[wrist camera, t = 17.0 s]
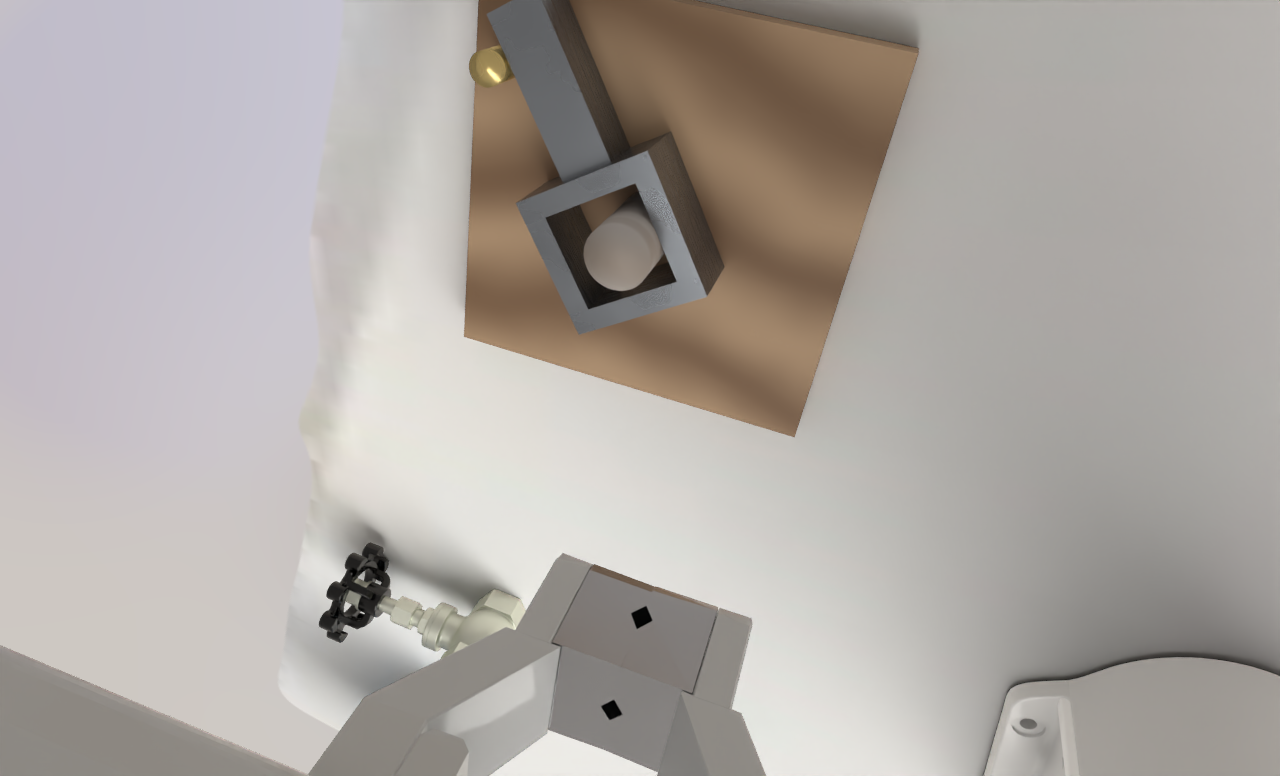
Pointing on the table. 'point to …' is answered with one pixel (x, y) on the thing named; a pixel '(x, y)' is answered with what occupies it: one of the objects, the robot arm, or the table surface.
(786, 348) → the base
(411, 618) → the valve
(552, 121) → the square loop paddle
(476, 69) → the dowel
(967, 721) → the table surface
